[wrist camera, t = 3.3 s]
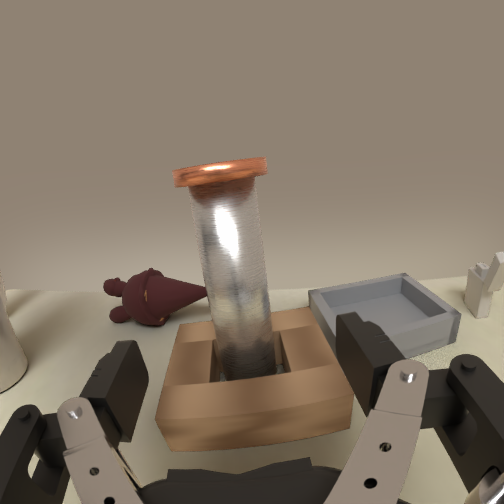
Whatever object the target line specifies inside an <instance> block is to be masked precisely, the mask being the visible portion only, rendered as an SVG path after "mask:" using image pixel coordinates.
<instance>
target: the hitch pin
mask: <svg viewBox="0 0 504 504" xmlns="http://www.w3.org/2000/svg"><path fill="white" fill-rule="evenodd" d="M172 172H173V178H174V185H175V187H186V186H188V188H189V194H190V201H191V208H192V213H193V220H194V225H195V232H196V238H197V243H198V249H199V255H200V260H201V265H202V271H203V276H204V281H205V287H206V292H207V297H208V302H209V307H210V312H211V317H212V321H213V326H214V331H215V335H216V340H217V345H218V349H219V354H220V358H221V362H222V367H223V371H224V375H225V379H226V381H233V380H242V379H250V378H257V377H264V376H271V375H277V366H276V357H275V348H274V338H273V329H272V320H271V311H270V303H269V294H268V286H267V277H266V268H265V259H264V251H263V242H262V234H261V226H260V218H259V210H258V202H257V193H256V185H255V176H260V175H265V174H267V173H268V172H267V164H266V157H259V158H249V159H240V160H233V161H225V162H218V163H211V164H205V165H199V166H193V167H187V168H182V169H177V170H173V171H172Z"/></svg>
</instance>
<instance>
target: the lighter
mask: <svg viewBox="0 0 504 504" xmlns="http://www.w3.org/2000/svg"><path fill="white" fill-rule="evenodd" d="M503 283H504V252H498V253H496V254H495V256H494V258H493V261H492V263H491V266H490V268H489V267H488V266H487V265H486V264H484V263H476V267H470V268H469V272H468V279H467V286H466V293H465V299H464V303H465V304H466V306H467V307H468V308H469V310H470V311H471V312H472V314H473V315H474V317H475V318H477V319H479V318H486V317H488V314H489V309H490V304H491V300H492V295H493V291H499V290H500V289H501V287H502V285H503Z"/></svg>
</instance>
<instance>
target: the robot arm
mask: <svg viewBox="0 0 504 504" xmlns="http://www.w3.org/2000/svg"><path fill="white" fill-rule="evenodd" d="M335 347H336V356H337V359H338V362H339V364H340V366H341V368H342V370H343V372H344V374H345V376H346V378H347V380H348V382H349V384H350V386H351V388H352V390H353V392H354V394H355V396H356V398H357V400H358V402H359V404H360V406H361V408H362V410H363V412H364V414H365V416H366V417H368V418H367V420H366V423H365V425H364V427H363V429H362V432H361V434H360V436H359V438H358V440H357V442H356V445H355V447H354V449H353V451H352V453H351V455H350V457H349V459H348V461H347V463H346V465H345V467H344V469H343V471H342V470H339V469H335V468H330V467H323V466H312V464H311V460H310V457H308V458H302V459H297V460H291V461H285V462H279V463H273V464H270V465H268V466H265V467H262V468H258V469H255V470H252V471H249V472H246V473H242V474H228V473H221V472H214V471H208V470H203V469H188V470H183V469H168V474H167V479H162V480H158V481H155V482H153V483H150V484H148V485H146V486H144V487H143V486H142V485H141V483H140V482H139V481H138V479H137V477H136V476H135V474H134V473H133V471H132V470H131V468H130V466H129V465H128V463H127V461H126V460H125V458H124V456H123V455H122V453H121V451H120V450H119V448H118V445H119V442H130V443H131V440H132V436H133V433H134V429H135V426H136V423H137V419H138V416H139V413H140V409H141V406H142V403H143V400H144V396H145V393H146V390H147V387H148V383H149V376H148V371H147V368H146V365H145V363H144V360H143V357H142V355H141V352H140V349H139V346H138V344H137V342H136V341H135V340H129V341H117V342H116V344H115V346H114V347H113V349H112V351H111V353H107V354H106V355H105V356H104V357H103V358H102V359H100V360H99V362H98V364H97V365H96V367H95V370H94V371H93V372H92V374H91V377H90V378H89V380H88V381H87V383H86V385H85V387H84V389H83V391H82V392H81V394H80V396H79V397H76V398H72V399H69V400H67V401H65V402H64V403H63V404H62V405H61V406H60V407H59V409H58V411H57V413H52V414H45V415H42V414H41V412H40V410H39V409H38V408H37V407H36V406H35V405H24V406H22V407H20V408H18V409H17V410H16V411H15V412H14V413H13V414H12V416H11V418H10V419H9V421H8V423H7V425H6V426H5V428H4V430H3V432H2V433H1V435H0V504H62V503H63V499H64V496H65V492H66V489H67V485H68V482H69V479H70V476H71V479H72V481H73V484H74V486H75V489H76V491H77V494H78V496H79V498H80V501H81V503H82V504H410V503H408V502H406V501H403V500H401V499H399V495H400V492H401V489H402V487H403V484H404V481H405V478H406V475H407V472H408V469H409V466H410V463H411V459H412V456H413V452H414V449H415V445H416V442H417V438H418V434H419V430H420V429H426V428H434V429H435V431H436V433H437V435H438V437H439V438H440V440H441V442H442V444H443V445H444V447H445V449H446V451H447V453H448V455H449V456H450V458H451V460H452V462H453V464H454V466H455V468H456V470H457V471H458V473H459V475H460V477H461V479H462V481H463V483H464V485H465V487H466V489H467V491H468V493H469V495H468V496H467V498H466V500H465V502H464V504H504V383H503V382H502V381H501V380H500V379H499V378H498V377H497V375H496V374H495V373H494V372H493V371H492V370H491V369H490V368H489V367H488V366H487V365H486V364H485V363H484V361H483V360H481V359H480V358H479V357H477V356H474V355H470V354H462V355H458V356H456V357H455V358H453V359H452V361H451V363H450V366H449V368H448V369H439V370H428V369H427V367H426V366H425V365H424V364H423V363H421V362H419V361H416V360H410V359H406V358H405V357H404V355H403V354H402V353H401V352H400V350H399V349H398V348H397V347H396V346H395V344H394V343H393V342H392V341H390V338H389V337H388V336H387V335H385V332H384V331H383V330H382V329H381V327H380V326H378V325H377V324H375V323H373V322H371V321H366V322H364V321H363V320H362V319H361V318H360V316H359V315H358V314H357V313H356V312H355V311H354V312H349V313H344V314H339V315H337V316H336V346H335ZM27 365H28V361H27V358H26V356H25V354H24V352H23V350H22V348H21V346H20V343H19V341H18V339H17V337H16V334H15V332H14V329H13V327H12V325H11V322H10V320H9V317H8V315H7V312H6V310H5V307H4V304H3V302H2V299H1V296H0V392H2V391H4V390H6V389H8V388H9V387H11V386H12V385H14V384H15V383H16V382H17V381H18V380H19V379H20V378H21V377H22V376H23V374H24V373H25V371H26V369H27ZM33 453H35V454H36V456H37V457H38V458H39V461H38V464H37V466H36V469H35V471H34V474H33V476H32V479H31V478H30V476H29V474H28V465H29V463H30V460H31V458H32V456H33Z"/></svg>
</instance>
